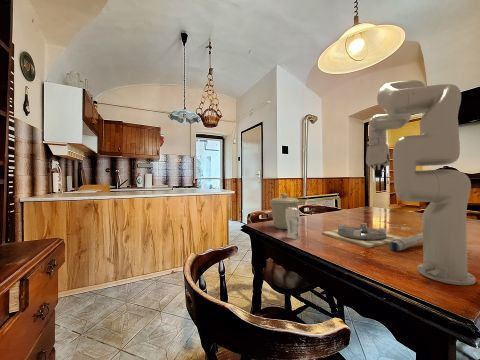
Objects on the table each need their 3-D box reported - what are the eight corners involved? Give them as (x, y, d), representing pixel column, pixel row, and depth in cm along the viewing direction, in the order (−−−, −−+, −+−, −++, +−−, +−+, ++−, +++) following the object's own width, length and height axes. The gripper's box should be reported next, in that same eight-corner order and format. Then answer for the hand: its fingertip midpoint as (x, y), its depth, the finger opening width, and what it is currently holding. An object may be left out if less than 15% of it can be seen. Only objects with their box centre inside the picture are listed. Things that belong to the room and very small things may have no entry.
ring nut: (333, 235, 105) (333, 228, 105) (343, 227, 122) (342, 221, 122) (384, 242, 93) (384, 234, 93) (387, 232, 109) (387, 225, 109)
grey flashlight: (386, 240, 89) (425, 225, 97) (388, 255, 89) (427, 239, 97) (399, 243, 84) (440, 228, 92) (401, 260, 84) (441, 243, 92)
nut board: (367, 248, 90) (367, 245, 90) (321, 234, 114) (321, 231, 114) (405, 239, 100) (405, 237, 100) (356, 228, 124) (356, 226, 124)
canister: (268, 224, 141) (267, 192, 141) (296, 224, 140) (295, 191, 140) (271, 231, 123) (270, 194, 123) (303, 230, 122) (302, 193, 122)
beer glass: (283, 236, 112) (282, 207, 112) (294, 235, 114) (293, 206, 114) (291, 240, 105) (290, 209, 105) (302, 238, 108) (302, 208, 107)
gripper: (359, 144, 118) (360, 178, 118) (387, 139, 104) (388, 177, 104) (369, 145, 121) (369, 177, 121) (397, 140, 107) (398, 177, 107)
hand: (378, 177), depth 113 cm, fingers closed
